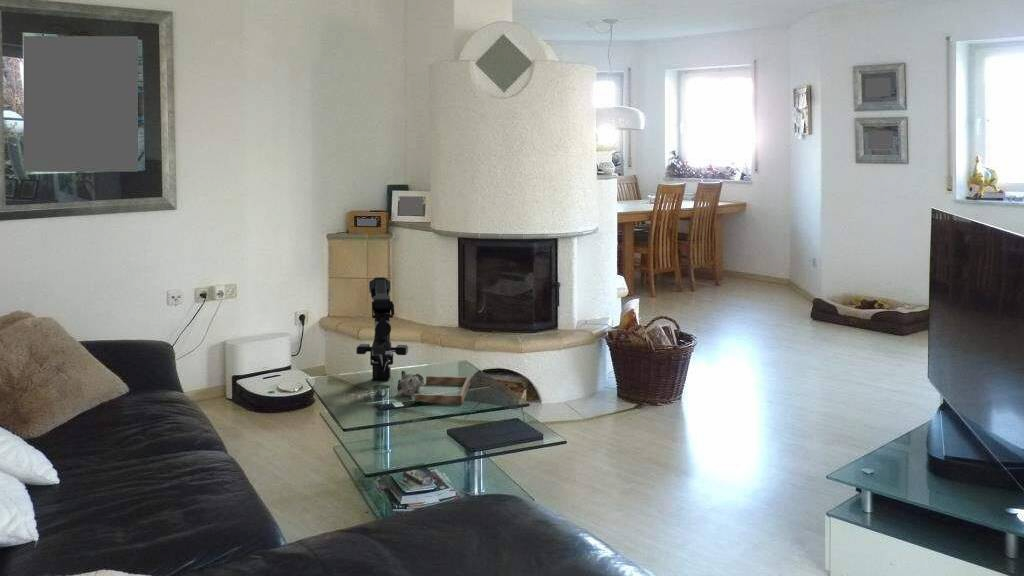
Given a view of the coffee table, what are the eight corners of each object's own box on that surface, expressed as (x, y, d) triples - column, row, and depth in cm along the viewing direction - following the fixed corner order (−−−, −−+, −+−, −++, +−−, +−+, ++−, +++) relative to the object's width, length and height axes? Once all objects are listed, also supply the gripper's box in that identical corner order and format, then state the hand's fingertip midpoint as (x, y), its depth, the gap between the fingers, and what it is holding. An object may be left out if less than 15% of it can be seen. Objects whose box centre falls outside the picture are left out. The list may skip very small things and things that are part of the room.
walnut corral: (414, 402, 337) (414, 394, 336) (426, 383, 365) (426, 375, 364) (462, 404, 336) (462, 396, 335) (470, 384, 364) (470, 377, 363)
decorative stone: (419, 398, 341) (413, 371, 340) (396, 403, 342) (389, 376, 341) (429, 388, 356) (423, 363, 356) (407, 393, 358) (400, 368, 357)
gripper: (352, 335, 341) (353, 376, 343) (403, 336, 340) (403, 377, 342) (359, 329, 352) (360, 369, 354) (408, 330, 351) (408, 370, 353)
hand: (382, 371), depth 350 cm, fingers closed
